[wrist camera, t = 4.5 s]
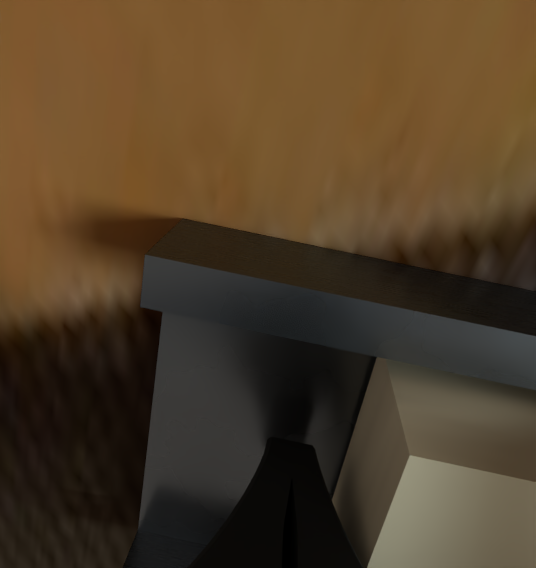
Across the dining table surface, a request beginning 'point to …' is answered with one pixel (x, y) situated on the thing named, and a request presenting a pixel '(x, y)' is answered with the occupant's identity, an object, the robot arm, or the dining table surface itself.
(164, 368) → the chute
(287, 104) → the dining table surface
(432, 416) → the block
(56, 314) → the dining table surface
